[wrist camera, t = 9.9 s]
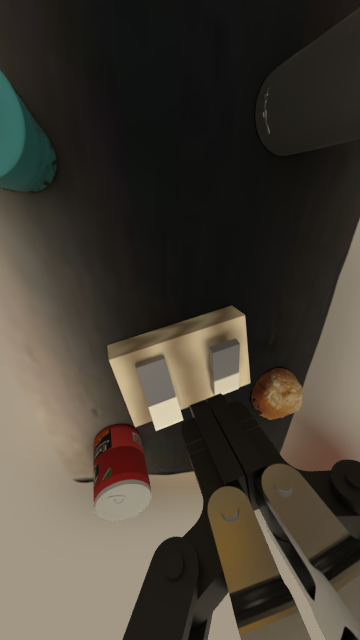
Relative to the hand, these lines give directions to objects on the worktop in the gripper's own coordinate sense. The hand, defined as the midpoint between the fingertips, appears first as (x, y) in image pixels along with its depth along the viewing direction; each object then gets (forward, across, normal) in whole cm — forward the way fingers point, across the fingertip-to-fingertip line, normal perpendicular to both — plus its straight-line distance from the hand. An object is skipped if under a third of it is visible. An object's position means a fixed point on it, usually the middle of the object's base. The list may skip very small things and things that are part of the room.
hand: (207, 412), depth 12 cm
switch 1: (+21, +2, +16) cm, 27 cm away
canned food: (+26, +12, +28) cm, 39 cm away
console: (+26, -3, +16) cm, 31 cm away
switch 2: (+22, -8, +16) cm, 28 cm away
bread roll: (+27, -19, +31) cm, 45 cm away
